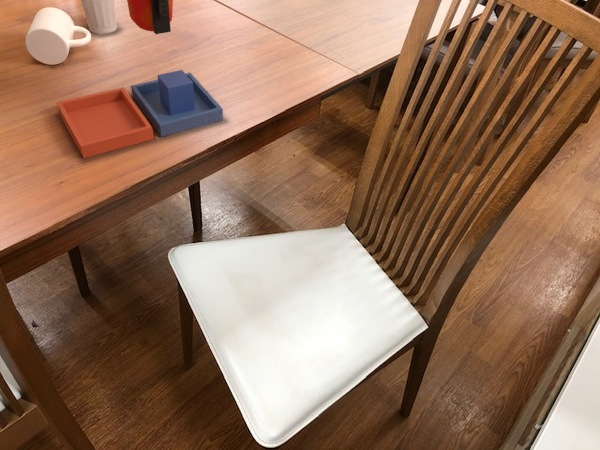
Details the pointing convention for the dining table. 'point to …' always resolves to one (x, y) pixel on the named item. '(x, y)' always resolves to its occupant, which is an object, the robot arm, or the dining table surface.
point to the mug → (53, 36)
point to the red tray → (104, 122)
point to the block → (176, 92)
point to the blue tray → (170, 124)
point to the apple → (144, 13)
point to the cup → (100, 15)
